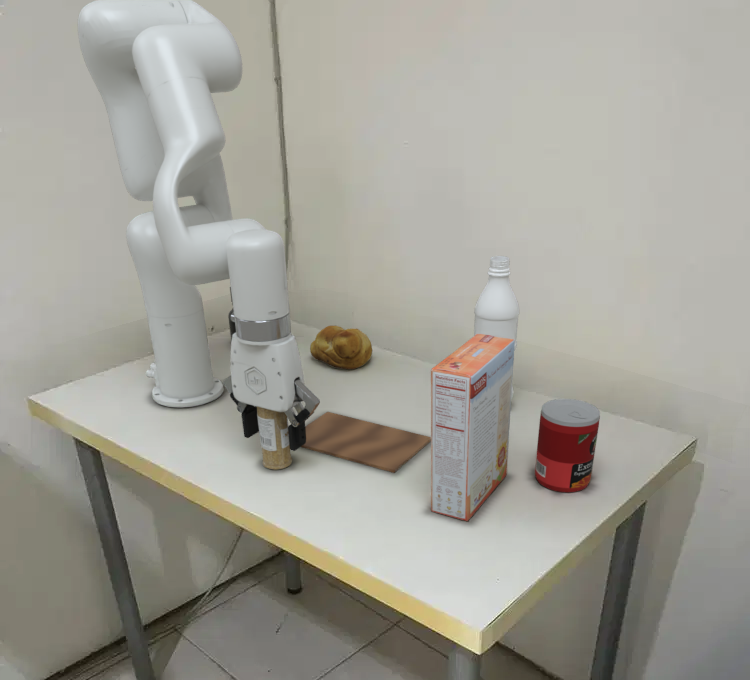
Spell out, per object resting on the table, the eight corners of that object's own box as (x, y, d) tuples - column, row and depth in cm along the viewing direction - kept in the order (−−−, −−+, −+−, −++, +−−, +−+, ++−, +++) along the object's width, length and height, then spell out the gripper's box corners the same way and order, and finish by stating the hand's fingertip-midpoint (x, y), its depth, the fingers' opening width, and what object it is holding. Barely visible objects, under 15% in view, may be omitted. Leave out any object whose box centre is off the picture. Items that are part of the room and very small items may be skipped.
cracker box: (469, 467, 114) (476, 331, 103) (508, 476, 112) (518, 338, 101) (426, 511, 104) (428, 366, 93) (467, 523, 102) (474, 375, 91)
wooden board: (285, 442, 122) (284, 440, 122) (327, 414, 131) (327, 411, 131) (394, 473, 113) (394, 470, 113) (432, 440, 122) (432, 437, 122)
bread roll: (300, 362, 151) (297, 322, 147) (333, 347, 158) (331, 309, 154) (349, 377, 144) (348, 336, 140) (382, 361, 151) (381, 321, 147)
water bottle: (464, 411, 131) (471, 262, 117) (476, 395, 136) (483, 251, 123) (506, 417, 128) (517, 266, 115) (516, 400, 134) (528, 254, 121)
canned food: (579, 499, 106) (590, 427, 100) (525, 484, 110) (532, 414, 104) (597, 475, 112) (608, 405, 106) (545, 461, 115) (552, 393, 109)
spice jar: (297, 465, 116) (290, 382, 109) (270, 473, 114) (261, 389, 107) (283, 453, 119) (275, 372, 112) (256, 461, 117) (247, 379, 110)
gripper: (196, 324, 107) (213, 437, 116) (298, 345, 99) (308, 465, 108) (232, 309, 112) (245, 418, 121) (331, 327, 104) (337, 443, 113)
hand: (274, 439), depth 115 cm, fingers open, 7 cm apart
